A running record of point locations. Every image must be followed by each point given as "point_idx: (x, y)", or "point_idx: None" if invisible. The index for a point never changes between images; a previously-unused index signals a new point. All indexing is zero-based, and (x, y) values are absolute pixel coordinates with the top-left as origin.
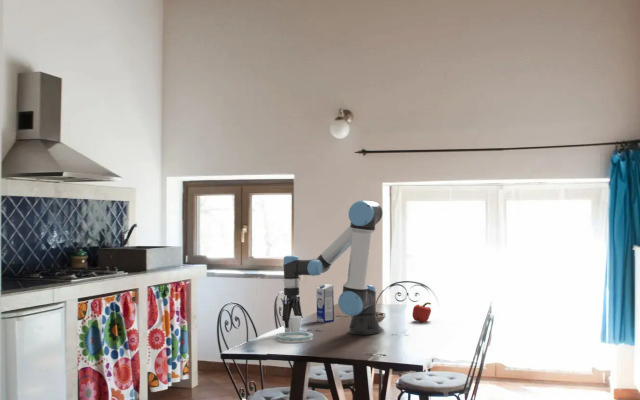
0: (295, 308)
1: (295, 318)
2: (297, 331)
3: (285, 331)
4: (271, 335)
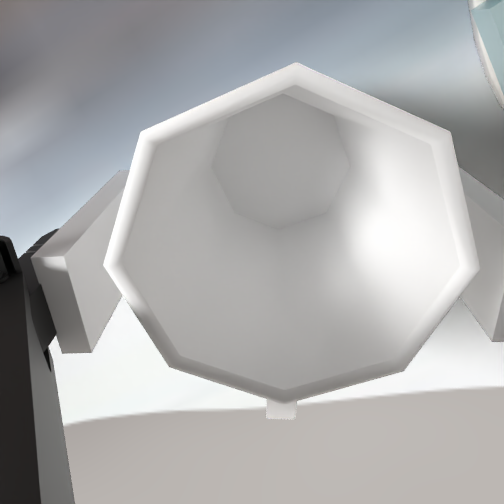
0: (56, 491)
1: (454, 166)
2: (493, 11)
3: None
4: None
